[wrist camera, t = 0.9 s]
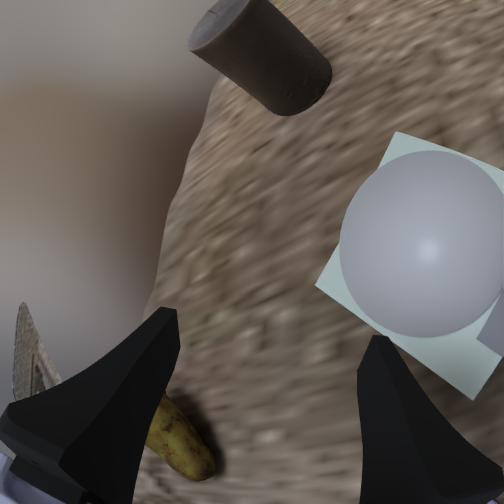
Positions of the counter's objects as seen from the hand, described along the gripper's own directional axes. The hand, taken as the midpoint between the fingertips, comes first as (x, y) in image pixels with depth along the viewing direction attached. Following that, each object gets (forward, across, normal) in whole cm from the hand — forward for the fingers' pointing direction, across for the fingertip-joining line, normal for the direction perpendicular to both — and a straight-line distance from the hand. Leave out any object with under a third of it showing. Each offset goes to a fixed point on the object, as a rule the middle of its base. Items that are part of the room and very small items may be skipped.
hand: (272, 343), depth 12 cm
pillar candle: (+33, 0, -8) cm, 34 cm away
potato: (+9, +7, +28) cm, 30 cm away
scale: (+12, -12, +1) cm, 17 cm away
